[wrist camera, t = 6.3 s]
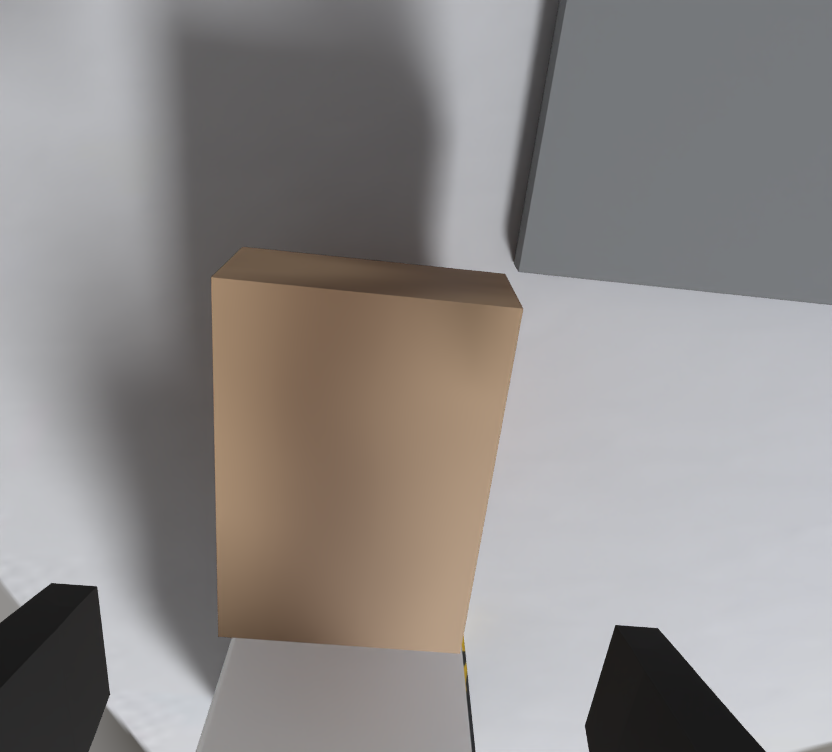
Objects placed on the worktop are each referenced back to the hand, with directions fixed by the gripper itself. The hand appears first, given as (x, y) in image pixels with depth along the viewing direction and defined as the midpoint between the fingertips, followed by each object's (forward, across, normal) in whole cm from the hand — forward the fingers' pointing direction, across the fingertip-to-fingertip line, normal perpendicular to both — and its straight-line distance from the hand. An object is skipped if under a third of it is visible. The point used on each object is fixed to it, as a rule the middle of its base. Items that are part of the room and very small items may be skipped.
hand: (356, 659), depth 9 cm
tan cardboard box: (+7, 0, 0) cm, 7 cm away
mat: (+10, -8, -8) cm, 15 cm away
